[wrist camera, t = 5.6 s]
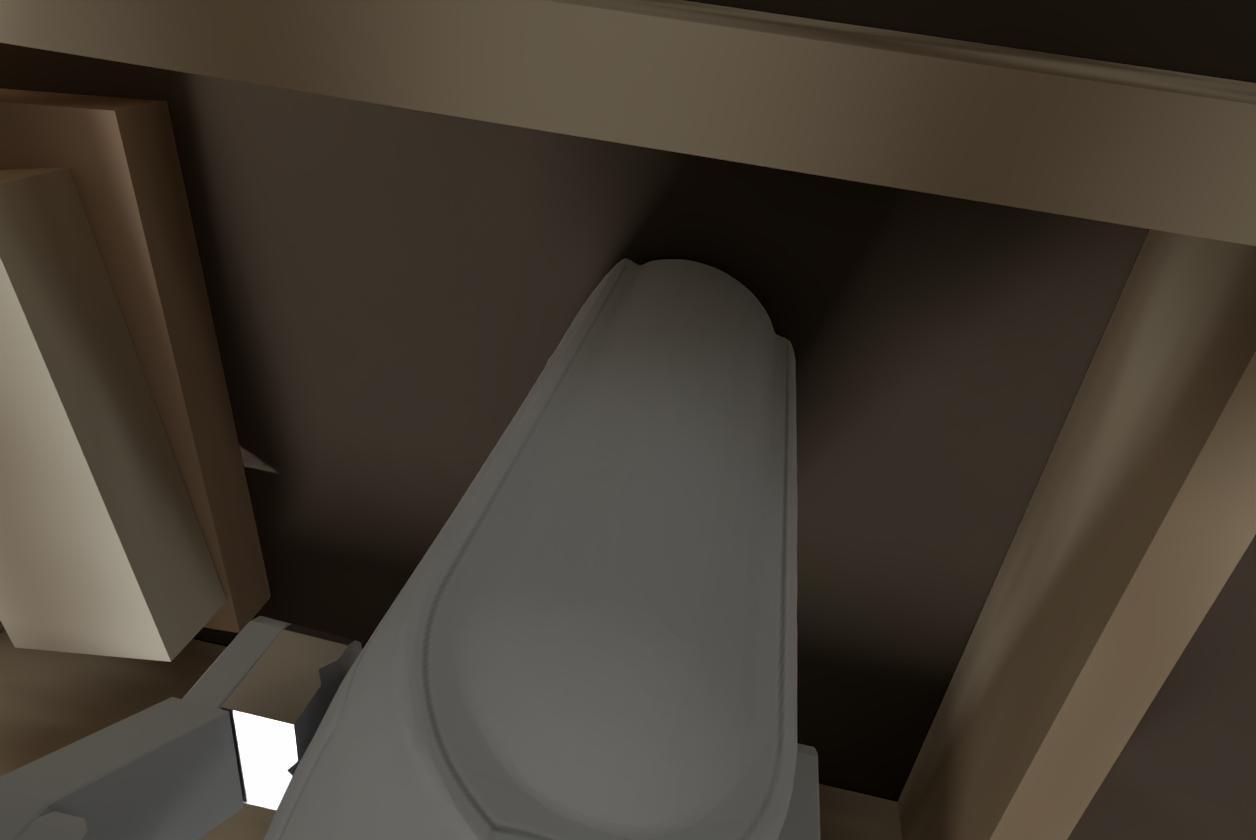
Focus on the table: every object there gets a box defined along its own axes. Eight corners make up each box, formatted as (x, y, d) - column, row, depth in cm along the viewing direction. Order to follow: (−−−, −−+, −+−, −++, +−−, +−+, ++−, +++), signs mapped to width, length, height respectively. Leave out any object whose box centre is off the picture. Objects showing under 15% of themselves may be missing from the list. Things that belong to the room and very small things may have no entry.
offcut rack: (1301, 89, 12) (1683, 168, 7) (931, 842, 21) (978, 1126, 16) (-241, -133, 15) (-815, -200, 9) (8, 625, 23) (-216, 809, 18)
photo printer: (607, 666, 20) (396, 1449, 9) (448, 590, 20) (45, 1307, 9) (829, 318, 15) (930, 1150, 4) (620, 211, 15) (172, 813, 4)
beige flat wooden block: (188, 97, 16) (114, 110, 14) (284, 581, 22) (240, 633, 20) (-38, 80, 17) (-135, 91, 15) (113, 554, 22) (56, 602, 21)
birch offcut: (68, 166, 15) (-28, 190, 13) (226, 601, 19) (171, 661, 18) (-111, 173, 16) (-225, 197, 14) (82, 590, 20) (14, 647, 18)
